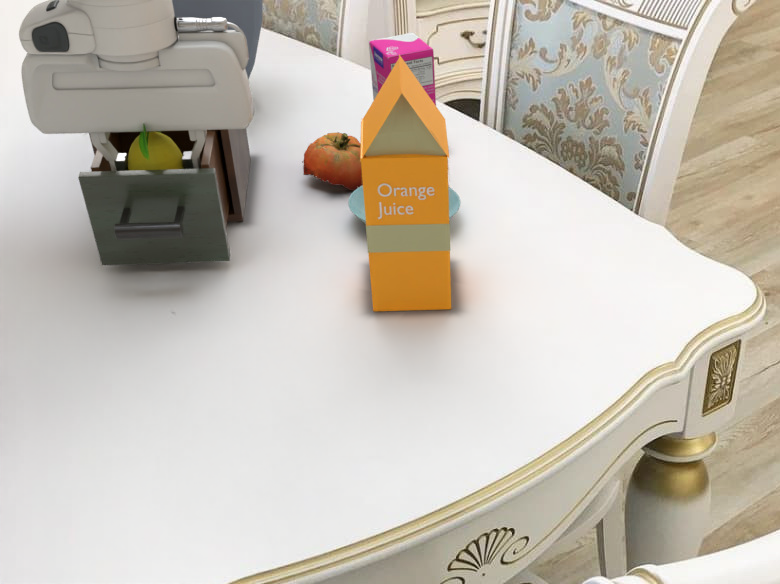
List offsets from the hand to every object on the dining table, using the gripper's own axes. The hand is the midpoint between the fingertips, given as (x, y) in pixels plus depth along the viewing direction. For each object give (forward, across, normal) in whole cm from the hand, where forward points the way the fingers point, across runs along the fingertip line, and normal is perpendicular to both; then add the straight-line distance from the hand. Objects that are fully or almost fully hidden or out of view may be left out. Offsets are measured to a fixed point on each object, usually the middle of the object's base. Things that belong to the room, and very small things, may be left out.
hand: (157, 174), depth 108 cm
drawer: (+7, 0, 0) cm, 7 cm away
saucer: (+8, -24, -4) cm, 26 cm away
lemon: (+4, 0, 0) cm, 4 cm away
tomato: (+8, -17, -15) cm, 24 cm away
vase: (+8, 0, -37) cm, 38 cm away
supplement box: (+8, -25, -23) cm, 35 cm away
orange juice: (+8, -24, +10) cm, 27 cm away
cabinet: (+8, 0, -13) cm, 15 cm away
